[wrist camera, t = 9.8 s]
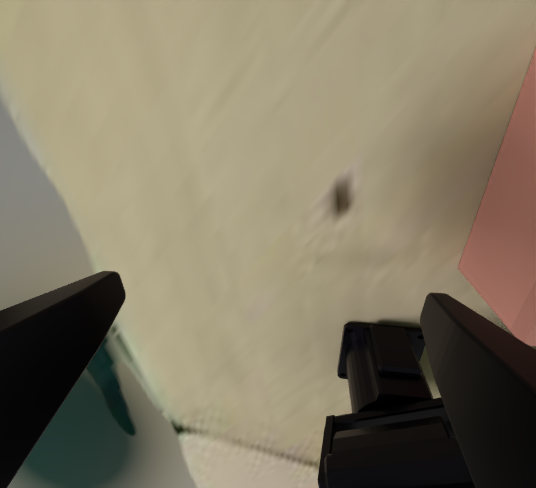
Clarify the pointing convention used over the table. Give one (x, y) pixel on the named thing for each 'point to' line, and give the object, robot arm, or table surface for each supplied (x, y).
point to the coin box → (509, 224)
